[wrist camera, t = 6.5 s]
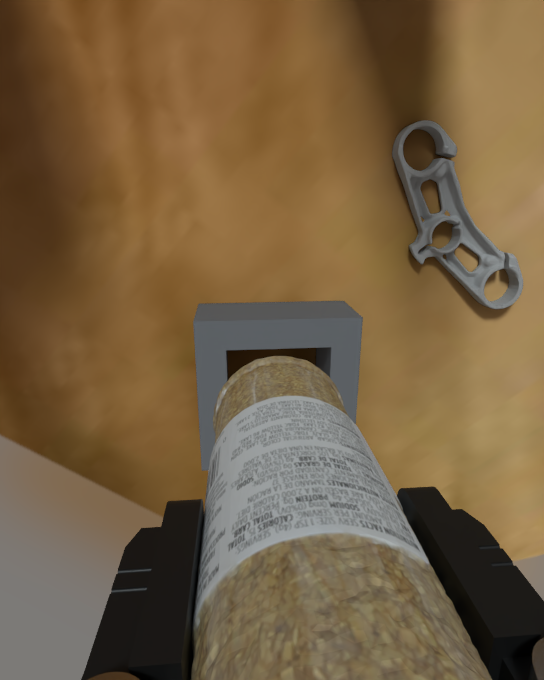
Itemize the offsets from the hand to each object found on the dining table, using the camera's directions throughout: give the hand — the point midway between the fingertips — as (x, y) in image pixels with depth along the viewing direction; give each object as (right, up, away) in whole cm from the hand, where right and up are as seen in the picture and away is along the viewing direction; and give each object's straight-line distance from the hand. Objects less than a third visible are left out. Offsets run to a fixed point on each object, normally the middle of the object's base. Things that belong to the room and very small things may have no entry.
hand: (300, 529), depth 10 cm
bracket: (+13, +13, +23) cm, 30 cm away
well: (-1, +2, +25) cm, 25 cm away
